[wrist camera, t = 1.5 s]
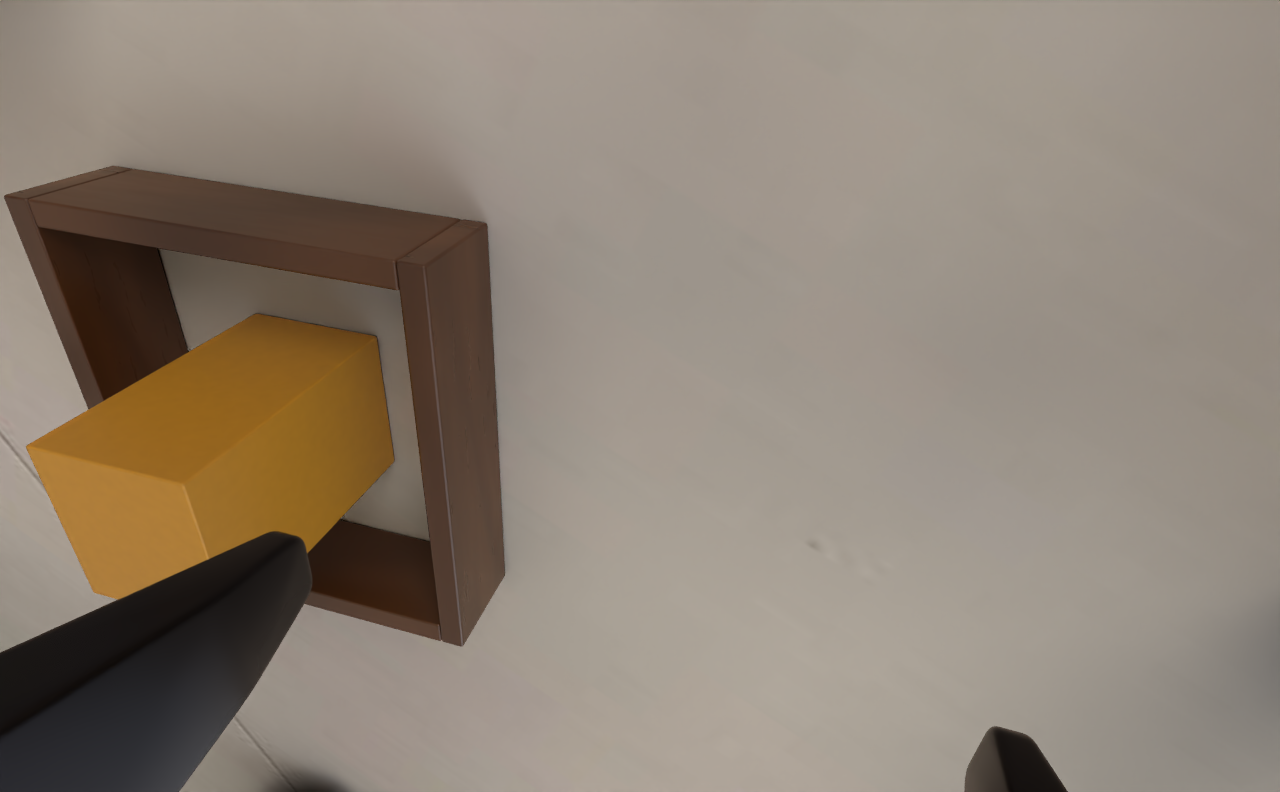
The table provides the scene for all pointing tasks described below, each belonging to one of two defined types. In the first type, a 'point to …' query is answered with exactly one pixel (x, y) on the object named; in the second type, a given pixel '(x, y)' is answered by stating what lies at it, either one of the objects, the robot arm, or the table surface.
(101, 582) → the ochre block
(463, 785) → the table surface
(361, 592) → the brown wooden square frame
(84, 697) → the robot arm
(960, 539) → the table surface
